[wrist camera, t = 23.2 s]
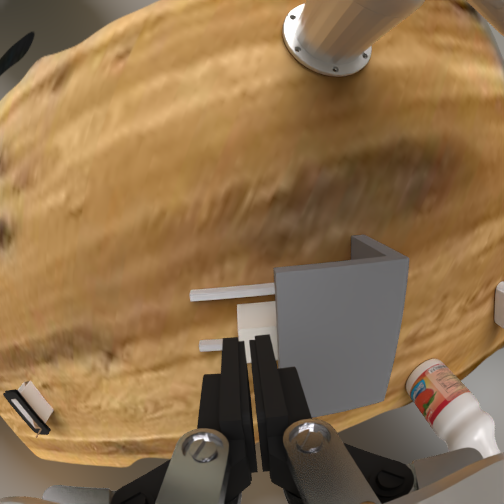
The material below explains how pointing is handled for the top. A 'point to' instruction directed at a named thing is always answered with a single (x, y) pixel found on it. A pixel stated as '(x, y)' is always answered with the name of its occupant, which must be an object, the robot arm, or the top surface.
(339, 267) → the overhang shelf
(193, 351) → the top surface
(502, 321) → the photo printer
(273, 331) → the cream rectangular prism
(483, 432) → the fruit juice
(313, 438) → the robot arm
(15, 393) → the architectural model
